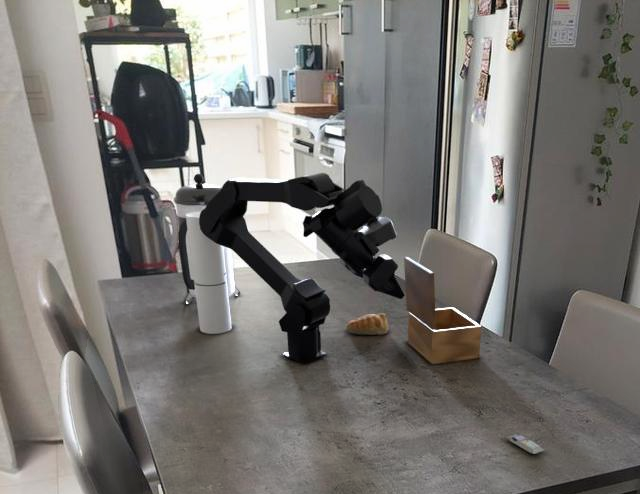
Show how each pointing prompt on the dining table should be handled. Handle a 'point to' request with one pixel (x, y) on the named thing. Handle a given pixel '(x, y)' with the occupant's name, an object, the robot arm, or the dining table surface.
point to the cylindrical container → (208, 279)
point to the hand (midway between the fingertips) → (395, 291)
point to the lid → (420, 292)
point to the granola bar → (525, 443)
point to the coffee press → (187, 202)
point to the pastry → (368, 325)
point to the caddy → (445, 337)
